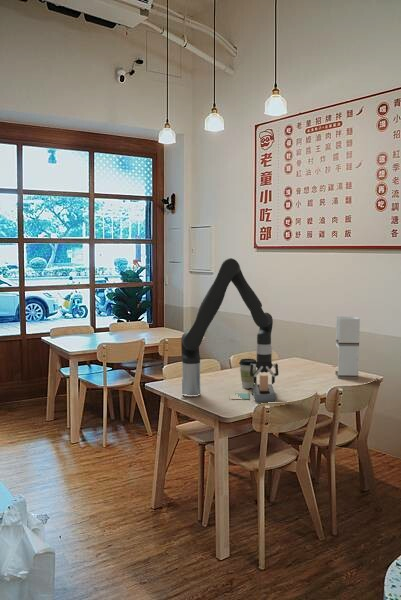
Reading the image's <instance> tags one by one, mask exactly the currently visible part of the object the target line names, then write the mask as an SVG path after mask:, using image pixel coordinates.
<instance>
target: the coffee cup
mask: <svg viewBox="0 0 401 600" xmlns="http://www.w3.org/2000/svg"><path fill="white" fill-rule="evenodd" d="M251 363H252V364H256V363H257V359H254V358H241V359H240V360H239V363H238V365H239V367H240V368H239V370H240V371H239V373H240V379H241V381H240V382H241V387H242V389H245V388H252V389H253V384H255V383H254V377H253V376H250V364H251ZM256 370H257V367H256V366H255V367H254V368H253V373H255V372H256Z"/></svg>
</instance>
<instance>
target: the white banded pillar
mask: <svg viewBox="0 0 401 600" xmlns="http://www.w3.org/2000/svg"><path fill="white" fill-rule="evenodd" d="M335 319H336V321H335V325H336V326H335V328H336V330H335V345H336V347H337V349H338V352H337V354H338V355H337V357H338V358H337V359H338V360H337V370H335V371H334V374H335V376H336V378H337V379H338V380H359V366H360V365H359V363H360V326H361V325H360V324H361V323H360V320H361V319H360V318H359V317H357V316H353V315H352V316H343V315H341V316H336V318H335Z"/></svg>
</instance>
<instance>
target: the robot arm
mask: <svg viewBox="0 0 401 600" xmlns="http://www.w3.org/2000/svg"><path fill="white" fill-rule="evenodd" d="M230 283H232V284H233V285H234V286H235V288H236V289H237V291H238V293H239V296H240V297H241V299H242V301H243V302H244V304H245V306H246V307H247V310H248V311H250V315H251V317H252V319H253V322H254V324H255V325H256V326H257V327H258V328H259V330H258V333H257V335H256V362H257V363H256V364H252V363H251V364H250V376H253V377H254V384H258V383H257V378H258V377H257V376H258V375H260V373H261V374H263V373H269V374H270V376H271V384H272V385H274V384H275V382H276V379H275V378H276V377H277V376H279V363H273V362H272V360H273V359H272V353H273V351H272V331H273V323H274V322H273V316H272V315H271V313H269V312H265V311H264V310H263V304H262V302H261V301H260V298H259V297H258V296H257V294H256V292H255V291H254V289H252V287H251V286H250V285H249V283H248V282H247V280H246V278H245V276H244V275H243V272H242V269H241V266H240V263H239V262H238V261H237V260H236V259H235V258H227V259H226V258H225V260H223V261H222V263H221V265H220V268H219V269H218V272H217V275H216V277H215V279H214V280H213V283H212V285H211V286H210V287H209V289H208V290H207V292H206V294H205V296H204V297H203V299H202V301H201V303H200V305H199V308H198V312H197V313H196V318H195V320H194V322H193V324H192V326H191V327H190V329H189V330H186V331H185V332H184V333H183V334H182V336H181V338H180V339H181V342H180V343H181V344H180V345H181V347H180V348H181V360H182V361H181V363H182V366H181V367H182V368H181V369H182V376H181V384H182V385H181V395H182V394H187V395H198V394H200V395H201V356H200V355H201V354H200V346H201V344H202V342H203V339H204V337H205V335H206V333H207V329H208V328H209V327H210V325H211V323H213V319H214V318H215V316H216V314H217V313H218V312H219V310H220V308H221V306H222V303H223V301H224V299H225V297H226V296H225V295H226V292H227V289H228V287H229V285H230ZM255 366H256V372H255V373H253V368H254V367H255ZM272 367H273V368H274V369H275V370H274V372H273V371H272Z"/></svg>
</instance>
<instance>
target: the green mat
mask: <svg viewBox="0 0 401 600" xmlns="http://www.w3.org/2000/svg"><path fill="white" fill-rule="evenodd" d="M234 393H235V395H236V394H238V397H239V396H240V398H242V399H249V400H250V394H249V393H247V392H246V393H244V392H241V393H239V392H234Z"/></svg>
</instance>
